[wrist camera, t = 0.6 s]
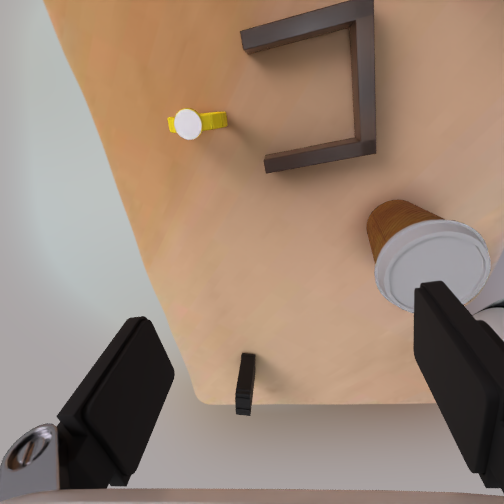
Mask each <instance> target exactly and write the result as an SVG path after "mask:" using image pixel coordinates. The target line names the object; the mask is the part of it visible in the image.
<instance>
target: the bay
mask: <svg viewBox="0 0 504 504" xmlns="http://www.w3.org/2000/svg"><path fill="white" fill-rule="evenodd" d="M349 27H350V47H351V67H352V88H353V108H354V129H355V138H351V139H345V140H340V141H335V142H330V143H325V144H320V145H315V146H310V147H305V148H299V149H294V150H289V151H284V152H279V153H274V154H269V155H265V158H264V165H265V171H266V173H272V172H278V171H283V170H289V169H294V168H300V167H305V166H310V165H316V164H321V163H327V162H332V161H338V160H343V159H349V158H354V157H359V156H365V155H371V154H376V102H375V48H374V0H349V1H346V2H342V3H339V4H335V5H332V6H328V7H324V8H321V9H317V10H314V11H310V12H307V13H303V14H299V15H296V16H292V17H289V18H285V19H282V20H278V21H274V22H271V23H267V24H264V25H260V26H257V27H253V28H249V29H246V30H242V31H240V34H241V39H242V45H243V50H244V51H245V52H246V53H247V54H251V53H254V52H258V51H262V50H266V49H270V48H273V47H277V46H281V45H285V44H289V43H292V42H296V41H300V40H304V39H307V38H311V37H315V36H319V35H323V34H326V33H330V32H334V31H338V30H342V29H345V28H349Z"/></svg>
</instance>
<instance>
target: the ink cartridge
mask: <svg viewBox="0 0 504 504" xmlns="http://www.w3.org/2000/svg"><path fill="white" fill-rule="evenodd" d="M254 380H255V354H245V353H242V355H241V364H240V370H239V376H238V381H237V387H236V397H235V402H236V414H238V415H247V416H250V413H251V405H252V397H253V388H254Z"/></svg>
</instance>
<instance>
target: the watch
mask: <svg viewBox="0 0 504 504" xmlns="http://www.w3.org/2000/svg"><path fill="white" fill-rule="evenodd" d="M168 124H169V129H170V132H172V133H178V134H179V135H180V136H181V137H182V138H184V139H186V140H192V139H195V138H197V137H199V136H200V135H201V133H202V131H205V130H211V129H218V128H223V127H226V126H227V125H228V124H227V116H226V112H212V113H201V114H199V113H198V112H197V111H196V110H194V109H191V108H184V109H181V110H180V111H178V112H177V114H176V115H175V117H169V118H168Z"/></svg>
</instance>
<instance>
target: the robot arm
mask: <svg viewBox="0 0 504 504" xmlns="http://www.w3.org/2000/svg"><path fill="white" fill-rule="evenodd" d="M414 355H415V359H416V361H417V364H418V366H419V368H420V370H421V372H422V374H423V376H424V378H425V380H426V382H427V384H428V386H429V388H430V390H431V392H432V394H433V396H434V398H435V401H436V403H437V405H438V406H439V409H440V411H441V413H442V415H443V417H444V419H445V421H446V423H447V425H448V427H449V429H450V431H451V433H452V435H453V437H454V439H455V441H456V443H457V446H458V448H459V450H460V452H461V454H462V456H463V458H464V460H465V462H466V464H467V466H468V468H469V469H470V471H471V472H472V473H479V475H480V477H481V479H482V481H483V483H484V485H485V487H486V488H501V489H502V491H503V493H504V341H503V340H502V339H501V338H500V337H499V335H498V334H497V333H496V332H495V331H494V330H493V329H492V328H491V326H490V325H489V324H487V323H486V322H485V321H483V320H476V319H475V318H474V317H473V316H472V315H471V314H470V313H469V311H468V310H467V309H466V308H465V307H464V305H463V304H462V303H461V302H460V301H459V299H458V298H457V297H456V296H455V295H454V294H453V292H452V291H451V290H450V289H449V288H448V286H447V285H446V284H445V283H444V282H443V281H441V280H440V281H432V282H423V283H421V284H420V288H415V290H414ZM173 380H174V368H173V366H172V364H171V362H170V360H169V358H168V356H167V354H166V351H165V349H164V347H163V345H162V343H161V341H160V339H159V337H158V335H157V333H156V330H155V328H154V326H153V324H152V322H151V321H150V320H148V319H147V318H146V317H143V316H142V317H134V318H129V319H128V320H127V321H126V322H125V323H124V325H123V326H122V328H121V329H120V330H119V332H118V333H117V334H116V336H115V337H114V338H113V340H112V341H111V342H110V344H109V345H108V347H107V348H106V349H105V351H104V352H103V353H102V355H101V356H100V358H99V359H98V360H97V362H96V363H95V364H94V366H93V367H92V368H91V370H90V371H89V373H88V374H87V375H86V377H85V378H84V379H83V381H82V382H81V384H80V385H79V386H78V388H77V389H76V390H75V392H74V393H73V395H72V396H71V397H70V399H69V400H68V401H67V403H66V404H65V405H64V407H63V408H62V410H61V411H60V412H59V414H58V415H57V418H58V419H59V420H60V423H59V424H58V426H57V427H56V426H55V425H54V424H43V425H39V426H37V427H35V428H33V429H31V430H30V431H29V432H27V433H25V434H24V435H23V436H22V437H20V438H19V439H18V440H17V441H16V442H15V443H14V444H13V445H12V446H11V448H10V449H9V450H8V451H7V453H6V455H5V456H4V458H3V460H2V463H1V466H0V504H504V496H495V495H483V494H470V493H453V492H420V491H385V490H384V491H383V490H302V489H301V490H300V489H297V490H296V489H107V486H108V484H110V485H111V486H127V484H128V481H129V479H130V476H131V475H132V474H133V473H135V471H136V470H137V468H138V465H139V463H140V460H141V458H142V455H143V453H144V451H145V448H146V446H147V443H148V441H149V438H150V436H151V433H152V431H153V429H154V426H155V423H156V421H157V419H158V416H159V414H160V411H161V409H162V406H163V404H164V402H165V399H166V397H167V394H168V392H169V389H170V387H171V385H172V382H173Z"/></svg>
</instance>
